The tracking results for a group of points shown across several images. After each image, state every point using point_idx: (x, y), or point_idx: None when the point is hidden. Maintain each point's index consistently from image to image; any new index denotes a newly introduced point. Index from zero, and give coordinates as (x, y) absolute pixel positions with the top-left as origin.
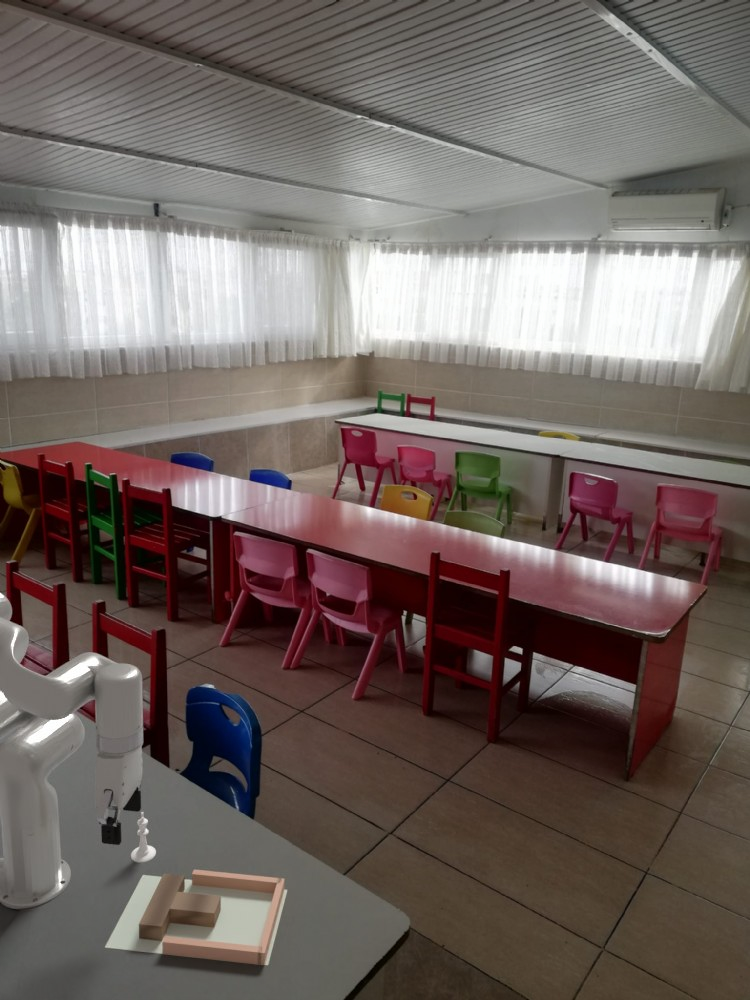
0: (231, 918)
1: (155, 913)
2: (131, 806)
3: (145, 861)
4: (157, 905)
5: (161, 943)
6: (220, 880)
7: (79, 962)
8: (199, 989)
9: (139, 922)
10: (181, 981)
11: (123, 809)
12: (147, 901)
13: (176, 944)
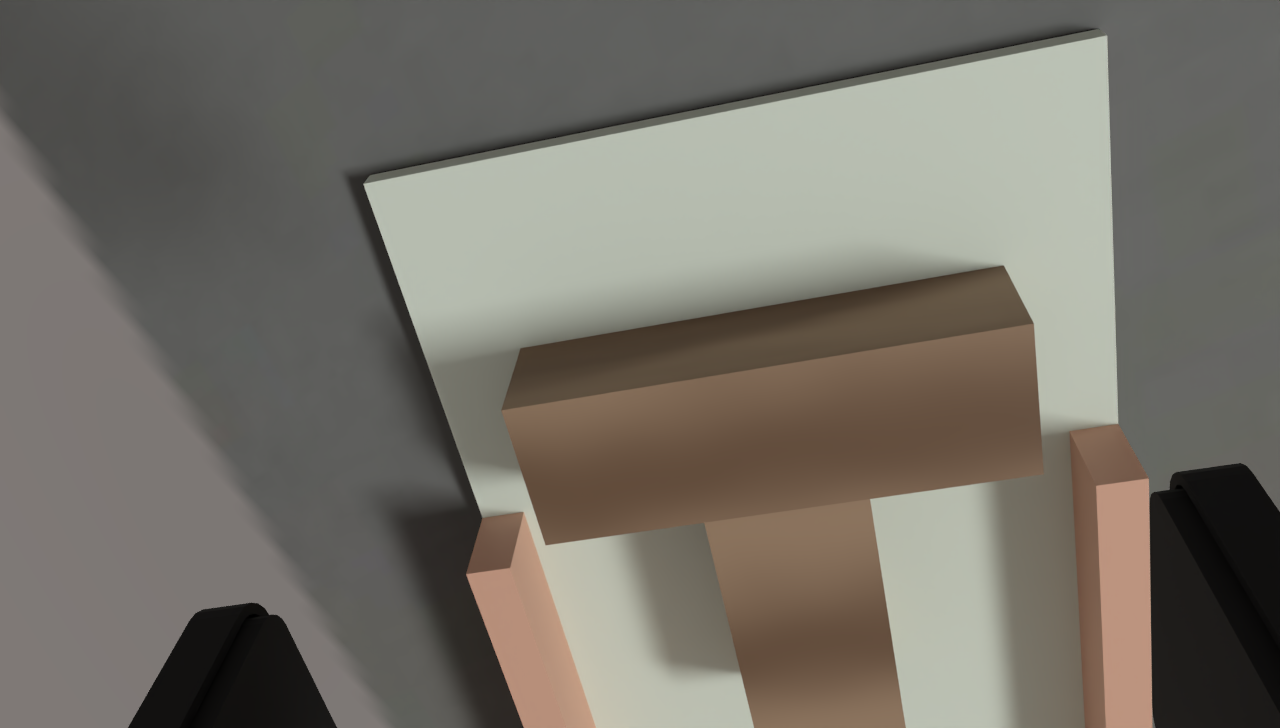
0: None
1: (628, 462)
2: (1185, 704)
3: None
4: (702, 439)
5: None
6: (1094, 632)
7: (214, 73)
8: (400, 724)
9: (639, 279)
10: (398, 644)
11: (1154, 500)
12: (834, 229)
13: (492, 638)
